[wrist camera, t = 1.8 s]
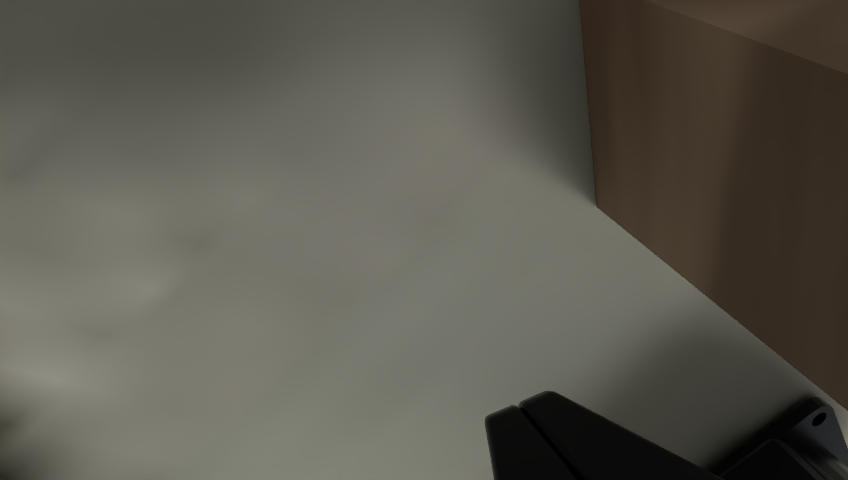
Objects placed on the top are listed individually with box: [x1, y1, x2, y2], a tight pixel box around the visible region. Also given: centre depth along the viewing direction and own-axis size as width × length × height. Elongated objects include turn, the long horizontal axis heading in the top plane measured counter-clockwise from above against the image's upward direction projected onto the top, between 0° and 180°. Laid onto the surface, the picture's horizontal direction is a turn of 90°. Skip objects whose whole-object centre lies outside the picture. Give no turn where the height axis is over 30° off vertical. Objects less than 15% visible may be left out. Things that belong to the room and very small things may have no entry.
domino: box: [579, 0, 848, 411], centre depth 12 cm, size 2×5×8 cm, turn 12°
